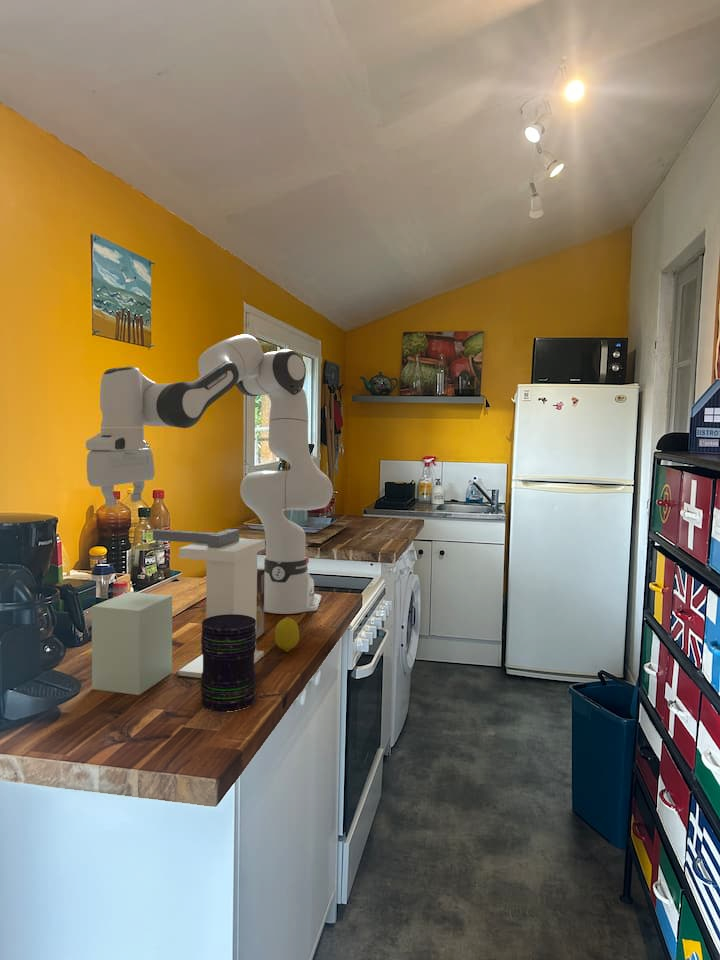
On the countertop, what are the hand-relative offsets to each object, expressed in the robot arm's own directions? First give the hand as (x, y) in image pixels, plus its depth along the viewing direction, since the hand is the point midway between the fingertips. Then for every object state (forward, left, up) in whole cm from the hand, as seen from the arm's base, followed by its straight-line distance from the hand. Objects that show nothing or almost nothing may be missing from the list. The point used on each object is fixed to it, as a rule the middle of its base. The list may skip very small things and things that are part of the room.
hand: (124, 503), depth 143 cm
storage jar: (+19, +34, -33) cm, 51 cm away
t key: (+2, +17, -7) cm, 19 cm away
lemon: (-10, +35, -33) cm, 49 cm away
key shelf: (+2, +25, -33) cm, 41 cm away
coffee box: (-17, +22, -33) cm, 43 cm away
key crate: (+15, +12, -33) cm, 38 cm away
